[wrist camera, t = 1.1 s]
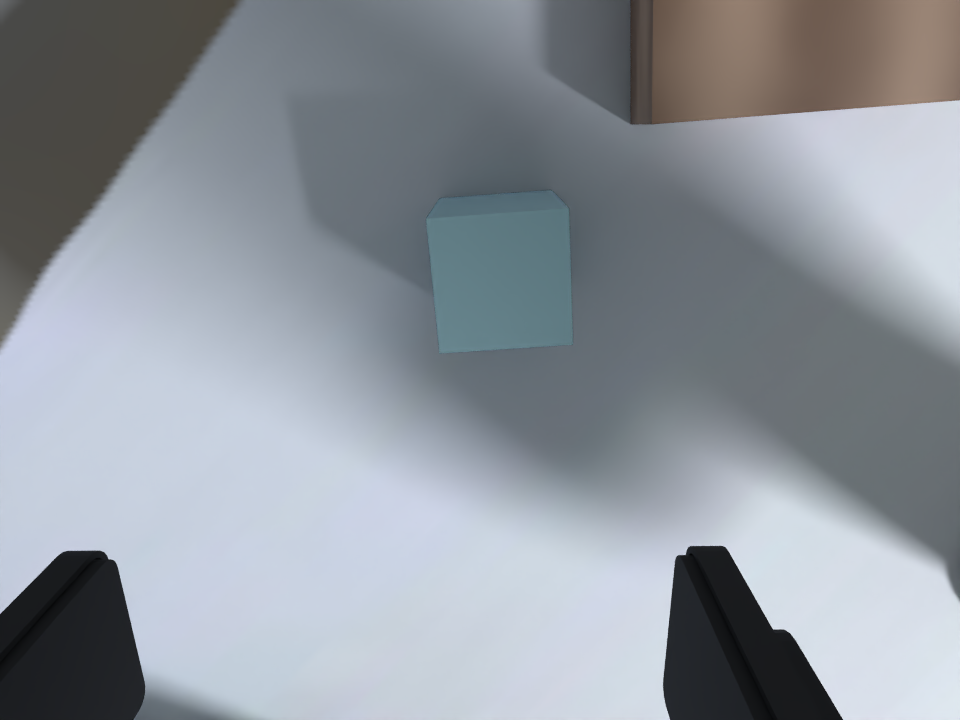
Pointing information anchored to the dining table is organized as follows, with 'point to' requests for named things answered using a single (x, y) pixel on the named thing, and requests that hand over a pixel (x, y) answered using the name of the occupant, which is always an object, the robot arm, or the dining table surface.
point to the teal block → (501, 271)
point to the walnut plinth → (789, 56)
